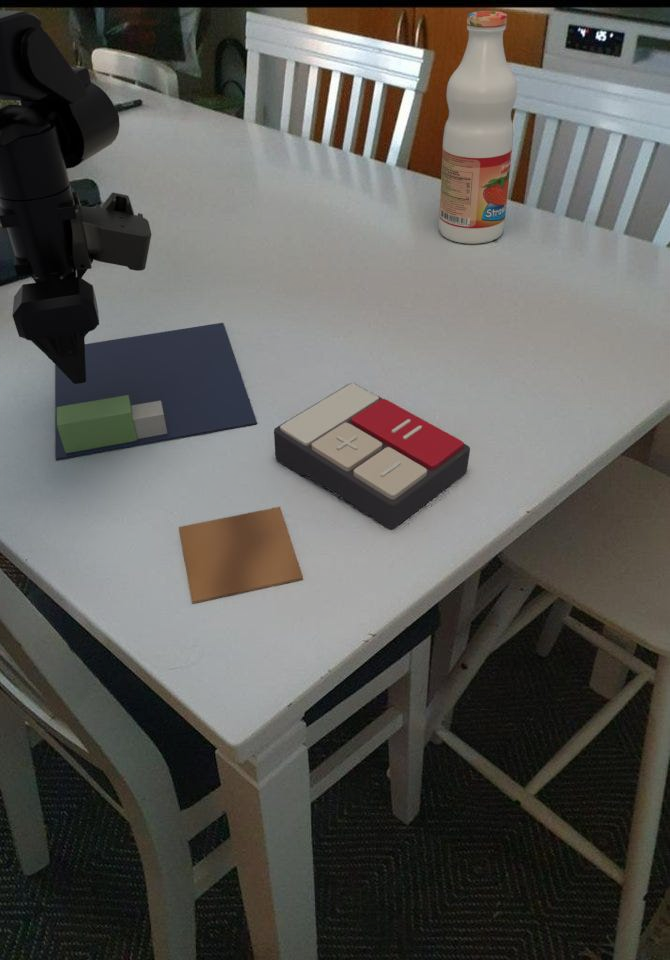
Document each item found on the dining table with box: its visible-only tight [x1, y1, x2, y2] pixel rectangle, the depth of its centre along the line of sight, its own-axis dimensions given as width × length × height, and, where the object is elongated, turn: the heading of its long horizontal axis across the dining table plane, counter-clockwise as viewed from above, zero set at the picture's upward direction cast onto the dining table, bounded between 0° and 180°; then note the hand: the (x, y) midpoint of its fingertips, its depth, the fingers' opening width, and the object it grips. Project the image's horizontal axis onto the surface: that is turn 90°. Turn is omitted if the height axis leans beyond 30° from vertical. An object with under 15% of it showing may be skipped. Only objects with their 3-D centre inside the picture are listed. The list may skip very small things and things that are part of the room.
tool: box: [57, 395, 167, 453], centre depth 80 cm, size 10×3×4 cm, turn 105°
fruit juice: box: [438, 10, 518, 245], centre depth 109 cm, size 9×9×28 cm
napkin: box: [54, 322, 258, 461], centre depth 89 cm, size 20×22×1 cm
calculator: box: [273, 382, 471, 530], centre depth 75 cm, size 11×4×15 cm
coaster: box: [178, 506, 304, 604], centre depth 68 cm, size 9×9×1 cm
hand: (78, 356), depth 75 cm, fingers open, 9 cm apart
